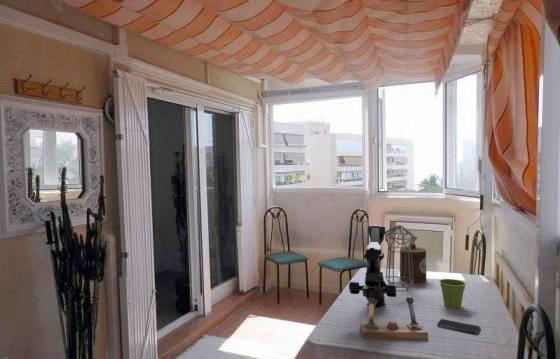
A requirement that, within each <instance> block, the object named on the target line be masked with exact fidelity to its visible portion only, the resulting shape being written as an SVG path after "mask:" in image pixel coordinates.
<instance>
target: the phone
mask: <svg viewBox="0 0 560 359" xmlns="http://www.w3.org/2000/svg"><path fill="white" fill-rule="evenodd" d="M436 326H437V328H442V329H447V330H452V331H456V332H460V333H465V334H471V335H474V336H476V335H477V336H478V335H479V333H480V331H481V327H480V325H476V324H471V323H470V324H469V323H465V322H458V321H455V320H449V319H446V318H445V319H444V318H441V319H439V321H438V322H437V325H436Z"/></svg>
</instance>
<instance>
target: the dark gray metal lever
mask: <svg viewBox="0 0 560 359" xmlns="http://www.w3.org/2000/svg"><path fill="white" fill-rule="evenodd" d="M368 302H369V305H368V306H369V307H368V321H367V323H368V324H369V325H375V323H376V322H375V315H374V314H375V310H374V309H375V307H374V302H375V298H374V297H372V296H370V297H369V298H368V301H367V303H368Z"/></svg>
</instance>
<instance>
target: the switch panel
mask: <svg viewBox="0 0 560 359" xmlns="http://www.w3.org/2000/svg"><path fill="white" fill-rule="evenodd" d="M410 323H411V322H396V321H393V320H391V321H388V322H375V325H369V324H368V322H359V330H360V332H361V335H362V338H363V339H377V340H378V339H381V340H384V339H385V340H389V339H390V340H429V333H428V331H427V329H426V328H424V326H423V324H422V323H421V322H418V325H410Z"/></svg>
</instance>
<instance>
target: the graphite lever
mask: <svg viewBox="0 0 560 359" xmlns="http://www.w3.org/2000/svg"><path fill="white" fill-rule="evenodd" d="M405 301H406V303H407V305H408V306H407V307H408V311H409V315H410V322H409V323H410V325H418V323H419V322H417V320H416V314H415V307H414V298H413V296H407V297H406V299H405Z"/></svg>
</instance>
